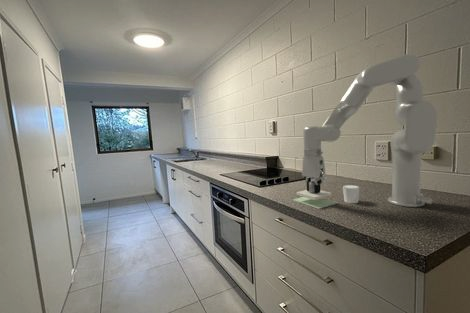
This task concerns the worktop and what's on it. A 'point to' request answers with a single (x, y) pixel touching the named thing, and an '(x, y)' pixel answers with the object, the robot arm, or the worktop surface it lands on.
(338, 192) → the worktop surface
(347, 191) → the white cup
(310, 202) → the mat
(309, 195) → the lid
